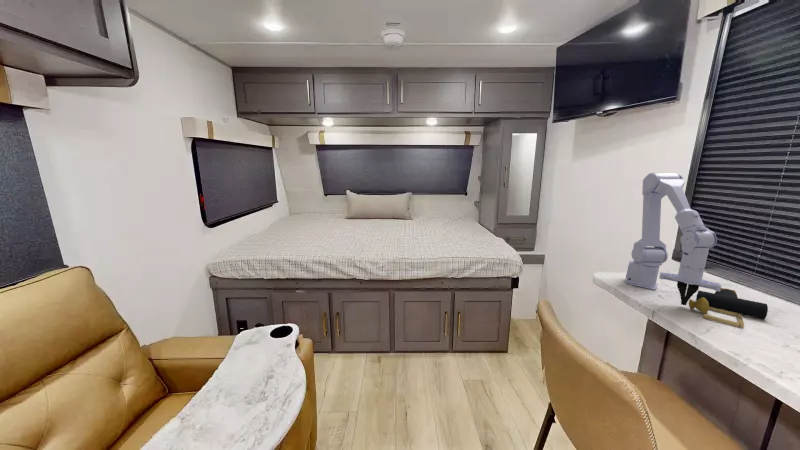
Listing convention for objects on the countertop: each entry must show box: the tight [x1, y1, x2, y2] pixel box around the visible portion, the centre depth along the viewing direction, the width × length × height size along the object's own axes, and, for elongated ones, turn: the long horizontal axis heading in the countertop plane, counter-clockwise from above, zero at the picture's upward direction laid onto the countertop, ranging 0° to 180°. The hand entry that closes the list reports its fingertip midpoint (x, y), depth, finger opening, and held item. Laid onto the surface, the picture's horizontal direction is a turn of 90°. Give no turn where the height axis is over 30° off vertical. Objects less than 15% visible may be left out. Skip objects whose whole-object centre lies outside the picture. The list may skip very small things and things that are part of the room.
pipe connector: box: [695, 287, 769, 320], centre depth 99 cm, size 12×5×15 cm
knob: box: [688, 297, 710, 315], centre depth 96 cm, size 5×5×5 cm
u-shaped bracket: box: [702, 306, 745, 329], centre depth 93 cm, size 8×10×1 cm
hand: (683, 304), depth 99 cm, fingers closed
